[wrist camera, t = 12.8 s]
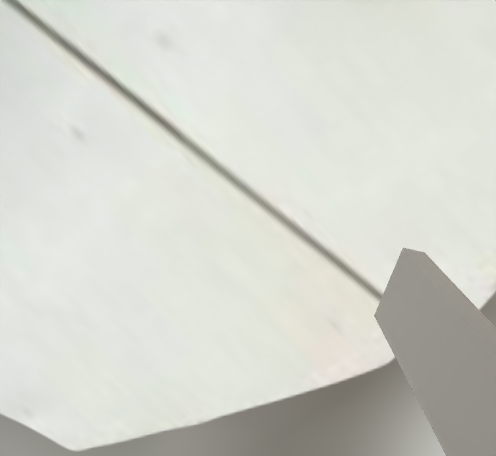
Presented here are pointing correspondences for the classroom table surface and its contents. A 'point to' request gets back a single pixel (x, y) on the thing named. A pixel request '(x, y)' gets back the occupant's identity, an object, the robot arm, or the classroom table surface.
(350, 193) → the classroom table surface
